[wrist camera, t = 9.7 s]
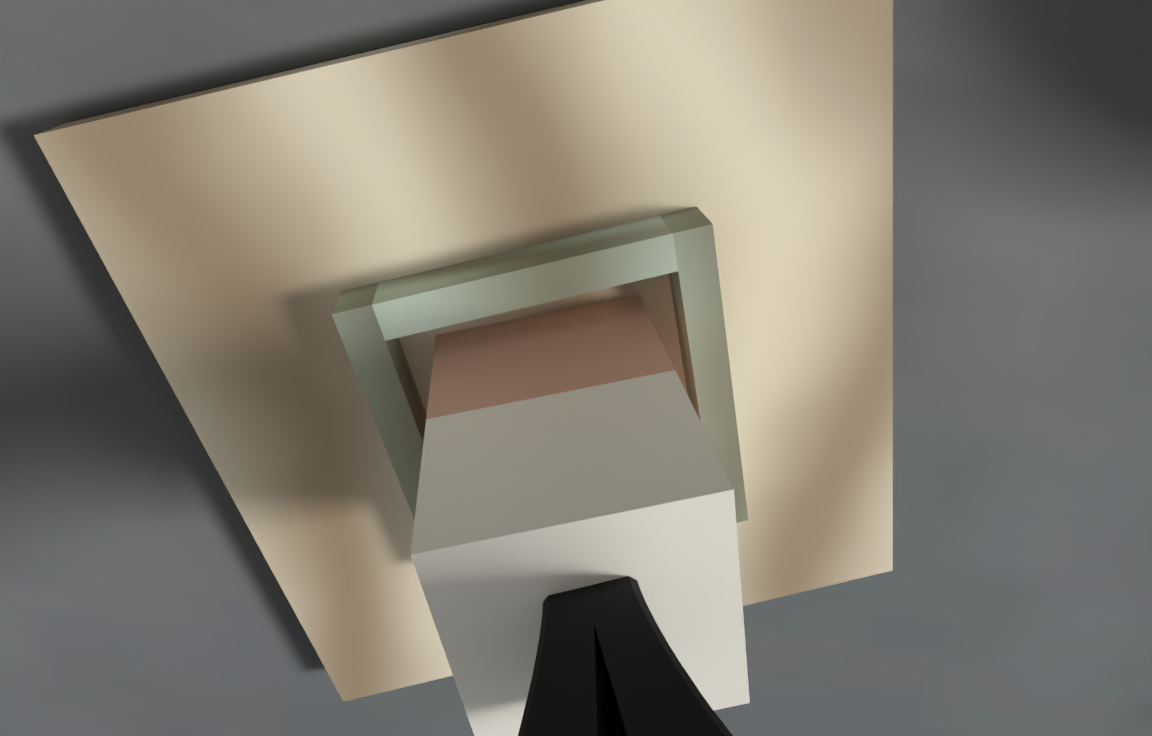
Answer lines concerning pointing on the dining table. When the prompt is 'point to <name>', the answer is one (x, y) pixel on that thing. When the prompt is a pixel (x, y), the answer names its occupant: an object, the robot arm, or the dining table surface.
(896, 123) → the dining table surface
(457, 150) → the board
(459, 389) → the white brown rectangular block
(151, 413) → the dining table surface
